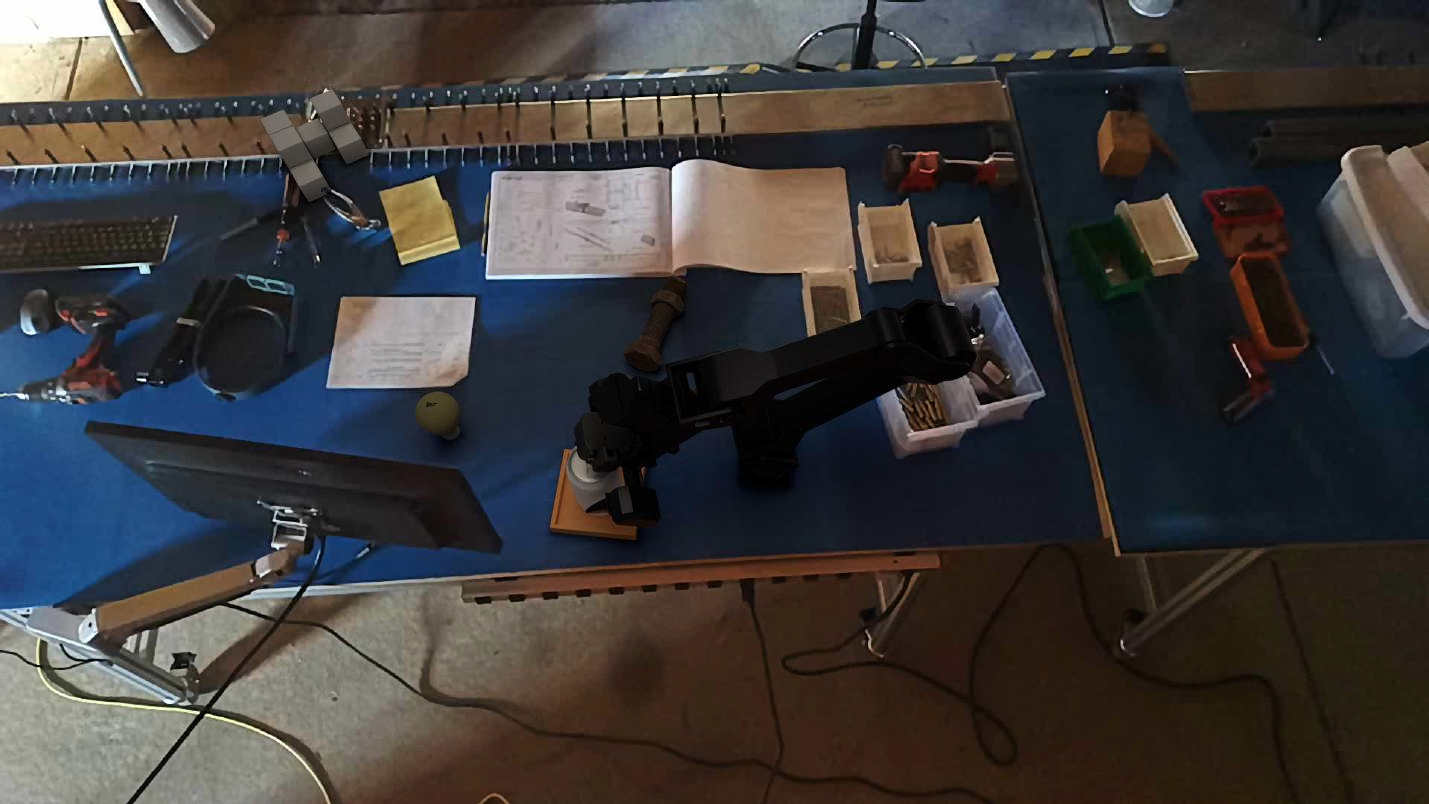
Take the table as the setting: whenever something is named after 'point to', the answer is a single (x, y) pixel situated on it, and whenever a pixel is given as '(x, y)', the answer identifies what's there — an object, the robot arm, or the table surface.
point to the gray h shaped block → (314, 141)
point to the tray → (583, 513)
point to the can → (590, 481)
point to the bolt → (657, 326)
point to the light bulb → (439, 414)
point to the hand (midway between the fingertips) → (582, 478)
